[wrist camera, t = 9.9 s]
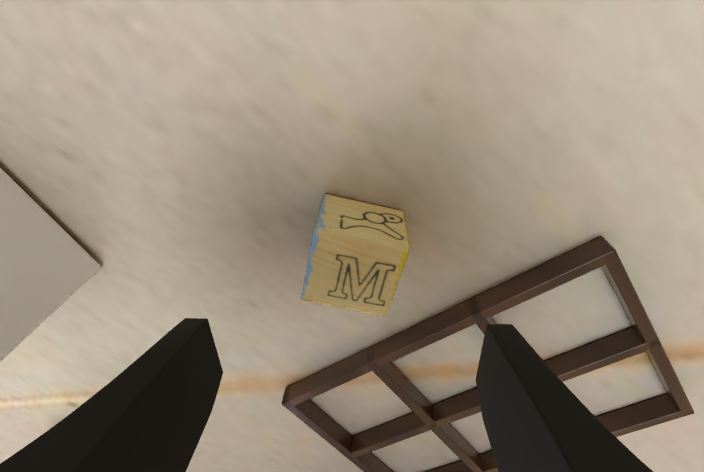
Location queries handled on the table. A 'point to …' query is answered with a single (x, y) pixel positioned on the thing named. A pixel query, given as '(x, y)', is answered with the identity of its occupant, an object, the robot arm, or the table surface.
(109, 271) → the table surface
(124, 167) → the table surface
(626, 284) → the frame
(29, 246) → the milk carton
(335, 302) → the alphabet block
